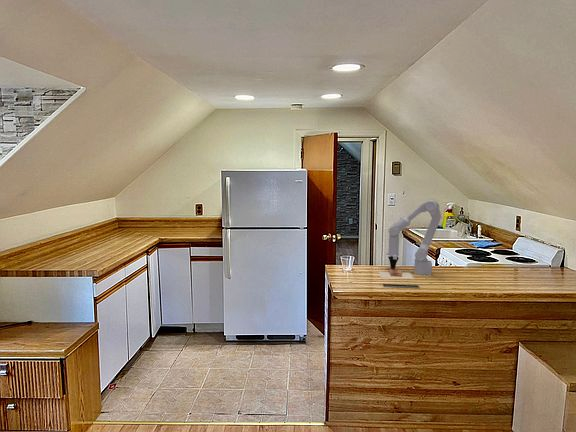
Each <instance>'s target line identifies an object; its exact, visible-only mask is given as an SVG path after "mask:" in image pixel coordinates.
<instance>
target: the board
mask: <svg viewBox="0 0 576 432" xmlns="http://www.w3.org/2000/svg"><path fill="white" fill-rule="evenodd" d="M377 272H378V275H379V277H380V278H381V279H405V280H406V279H408V280H409V279H410V280H414V279H415V278H414V276H413V275H412V273H411V272H402V277H395V276H391V275H390V274H389V271H377Z"/></svg>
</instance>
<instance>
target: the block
mask: <svg viewBox="0 0 576 432" xmlns="http://www.w3.org/2000/svg"><path fill="white" fill-rule="evenodd" d="M388 272H389V274H390V275H391V276H395V277H402V273H403V272H402V271H401V269H396V268H395V269H391V268H390V269H389V270H388Z"/></svg>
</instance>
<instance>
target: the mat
mask: <svg viewBox="0 0 576 432" xmlns="http://www.w3.org/2000/svg"><path fill="white" fill-rule="evenodd" d="M382 286H383V287H384V288H400V289H402V288H403V289H420V286H419V285H418V284H416V285H415V284H413V285H412V284H390V283H387V284H386V283H382Z"/></svg>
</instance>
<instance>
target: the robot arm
mask: <svg viewBox="0 0 576 432" xmlns="http://www.w3.org/2000/svg"><path fill="white" fill-rule="evenodd" d="M440 207H441V206H440V205H439V203H438V201H437V200H436V199H433V198H430V199H428V200H427V201H425V202H423V203H421V204H420V205H419V206H417V207H416V208H415V209H414V210H413V211H411V213H409V214H408V215H407V216H402V217H399V219H398V221H397V222H395V223H393V225H391V226H390V228H388V234H389V235H388V236H389V237H388V252H386V253H385V254H386V255H387V258H388V261H389V266H390V269H395V270H396V266H397V263H398V261H399V259H400V258H399V256H400V253H399V251H400V249H399V248H400V233H401V232H403V231H404V230H405V229H406V228H407V227H409V226H410V225H411V221H412V220H414V219H415V218H416V217H417V216H418V215H420V214H421V213H425V212H428V213H429V214H430V217H431V220H430V222H429V224H428V226H427V229H426V231H425V235H424V236H423V239H422V241H421V244H420V246H419V248H418V249H417V250H416V251H415V253H414V263H413V266H414V267H413V273H414V274H415V275H420V276H425V275H426V276H432V275H433V274H432V273H433V261H432V260H428V258H427V256H428V255H429V248H430V245H431V243H432V241H433V238H434V237H435V234H436V231H437V230H438V226H439V224H440V223H441V219H442V213H441V212H442V211H441V209H440Z"/></svg>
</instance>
